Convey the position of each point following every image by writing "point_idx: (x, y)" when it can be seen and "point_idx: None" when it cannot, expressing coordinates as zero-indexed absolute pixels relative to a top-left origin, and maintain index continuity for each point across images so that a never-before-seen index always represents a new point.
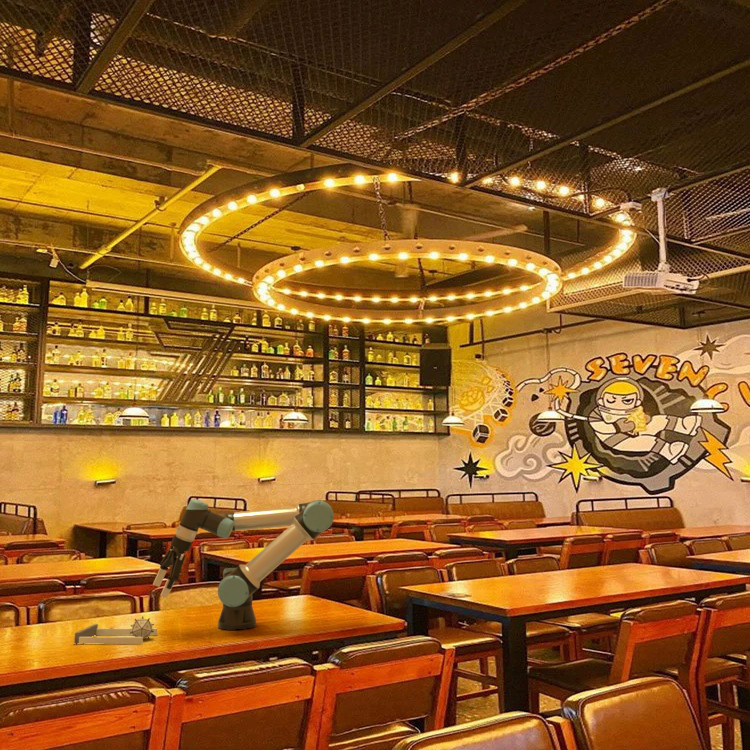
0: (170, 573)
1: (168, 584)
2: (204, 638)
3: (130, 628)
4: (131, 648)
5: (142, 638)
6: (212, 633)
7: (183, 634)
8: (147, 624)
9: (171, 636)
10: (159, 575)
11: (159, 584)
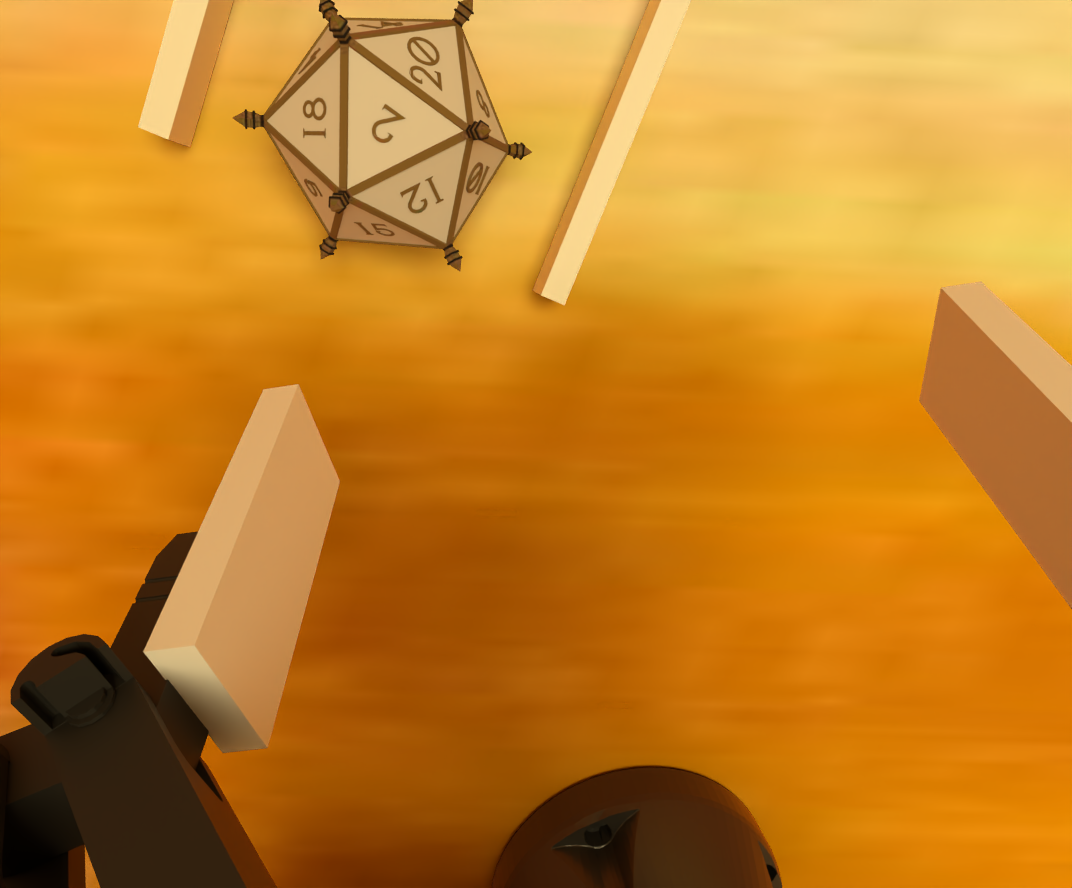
0: (151, 791)
1: (162, 594)
2: None
3: (672, 32)
4: (7, 20)
5: (156, 133)
6: (454, 722)
7: (502, 515)
8: (319, 187)
9: (455, 417)
10: (1048, 450)
11: (941, 408)
